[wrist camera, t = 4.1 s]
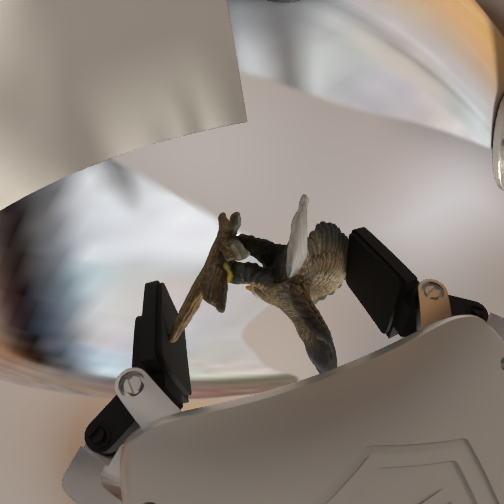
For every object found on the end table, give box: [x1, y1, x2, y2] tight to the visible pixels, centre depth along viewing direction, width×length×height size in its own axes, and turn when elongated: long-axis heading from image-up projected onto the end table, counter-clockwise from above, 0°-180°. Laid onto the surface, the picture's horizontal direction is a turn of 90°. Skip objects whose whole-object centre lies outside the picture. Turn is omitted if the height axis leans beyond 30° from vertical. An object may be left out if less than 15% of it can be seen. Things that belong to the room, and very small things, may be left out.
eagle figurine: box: [169, 195, 349, 374], centre depth 12 cm, size 8×7×9 cm
